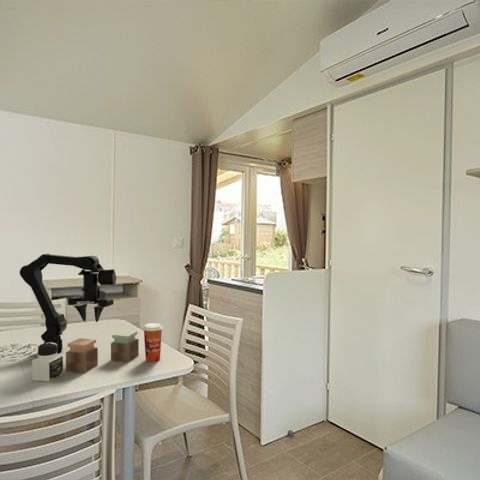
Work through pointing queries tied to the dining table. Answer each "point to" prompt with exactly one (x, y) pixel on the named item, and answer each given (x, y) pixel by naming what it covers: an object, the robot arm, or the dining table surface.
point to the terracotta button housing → (81, 361)
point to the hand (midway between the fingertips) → (90, 321)
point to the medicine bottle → (47, 363)
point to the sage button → (124, 337)
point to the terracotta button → (81, 345)
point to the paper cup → (152, 341)
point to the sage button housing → (124, 351)
